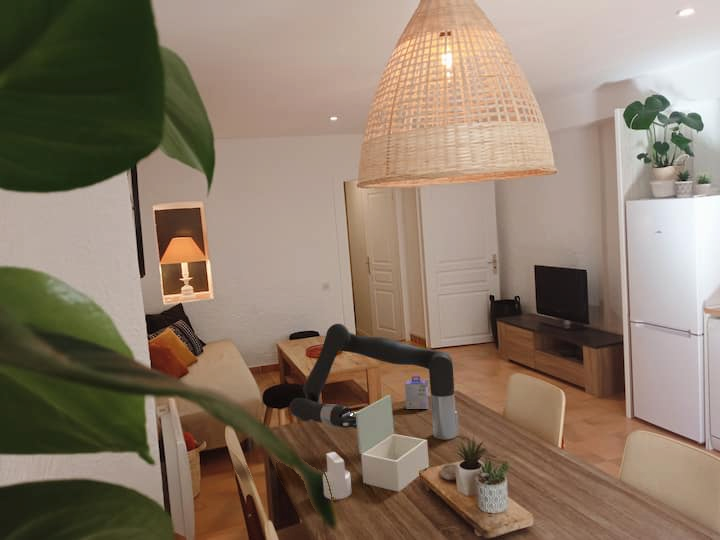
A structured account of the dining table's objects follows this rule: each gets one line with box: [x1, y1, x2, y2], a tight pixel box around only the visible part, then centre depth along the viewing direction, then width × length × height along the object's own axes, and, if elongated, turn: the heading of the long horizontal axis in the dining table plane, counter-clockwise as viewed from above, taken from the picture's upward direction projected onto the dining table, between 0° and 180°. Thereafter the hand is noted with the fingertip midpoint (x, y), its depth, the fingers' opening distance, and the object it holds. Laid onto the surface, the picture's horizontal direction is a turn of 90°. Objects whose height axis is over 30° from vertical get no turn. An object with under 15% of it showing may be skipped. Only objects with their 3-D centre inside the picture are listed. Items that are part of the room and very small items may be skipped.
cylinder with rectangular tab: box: [322, 451, 352, 500], centre depth 191 cm, size 9×9×12 cm
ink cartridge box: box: [404, 375, 430, 410], centre depth 268 cm, size 10×6×14 cm, turn 78°
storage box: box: [360, 433, 430, 493], centre depth 200 cm, size 14×20×10 cm
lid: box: [355, 394, 395, 454], centre depth 204 cm, size 14×21×1 cm
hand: (374, 422), depth 204 cm, fingers closed
